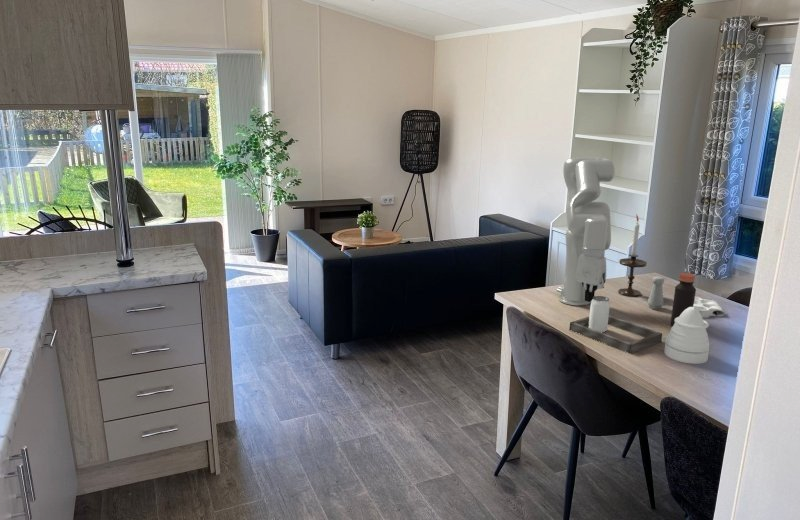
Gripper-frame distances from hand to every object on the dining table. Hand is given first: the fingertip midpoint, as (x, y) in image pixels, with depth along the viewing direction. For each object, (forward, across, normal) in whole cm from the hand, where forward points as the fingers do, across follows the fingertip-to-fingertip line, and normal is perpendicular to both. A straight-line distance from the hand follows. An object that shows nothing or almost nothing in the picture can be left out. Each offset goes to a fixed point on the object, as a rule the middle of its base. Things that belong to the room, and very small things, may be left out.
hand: (589, 300), depth 214 cm
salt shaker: (+10, +3, +39) cm, 41 cm away
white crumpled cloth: (+10, +14, +52) cm, 55 cm away
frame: (+10, +12, 0) cm, 15 cm away
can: (+10, +5, 0) cm, 11 cm away
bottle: (+10, +20, +28) cm, 36 cm away
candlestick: (+10, -14, +47) cm, 50 cm away
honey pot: (+10, +35, +5) cm, 37 cm away
